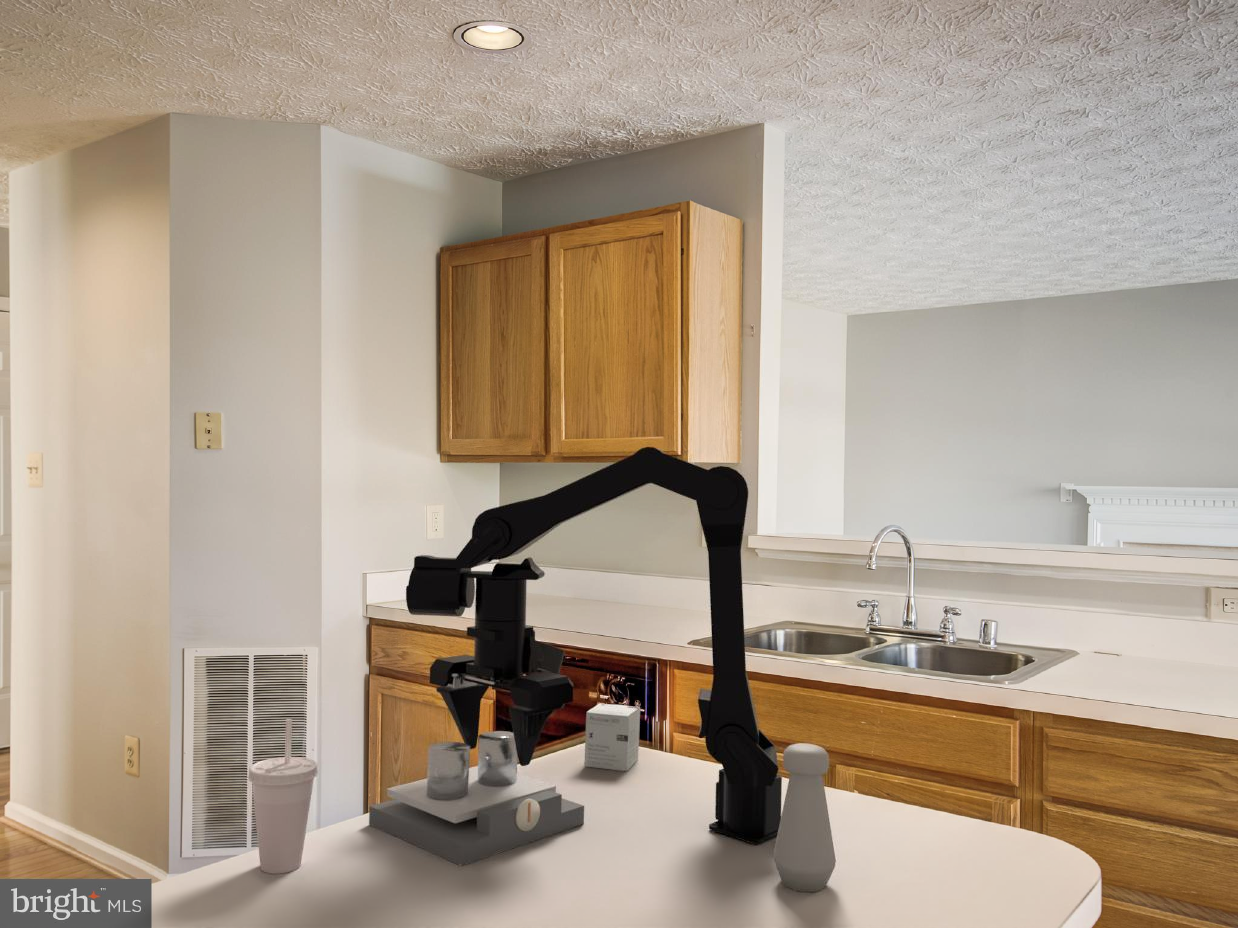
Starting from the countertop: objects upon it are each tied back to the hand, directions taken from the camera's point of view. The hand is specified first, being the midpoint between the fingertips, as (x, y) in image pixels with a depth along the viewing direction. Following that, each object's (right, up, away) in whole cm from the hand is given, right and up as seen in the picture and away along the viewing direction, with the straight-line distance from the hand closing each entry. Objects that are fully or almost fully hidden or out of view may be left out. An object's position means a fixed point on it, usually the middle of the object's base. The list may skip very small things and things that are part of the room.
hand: (497, 756), depth 112 cm
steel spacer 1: (-5, -3, -5) cm, 7 cm away
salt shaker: (+31, -7, -18) cm, 37 cm away
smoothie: (-19, -6, -16) cm, 26 cm away
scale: (-2, -6, -3) cm, 7 cm away
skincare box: (+13, -7, +21) cm, 26 cm away
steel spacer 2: (0, -3, 0) cm, 3 cm away
